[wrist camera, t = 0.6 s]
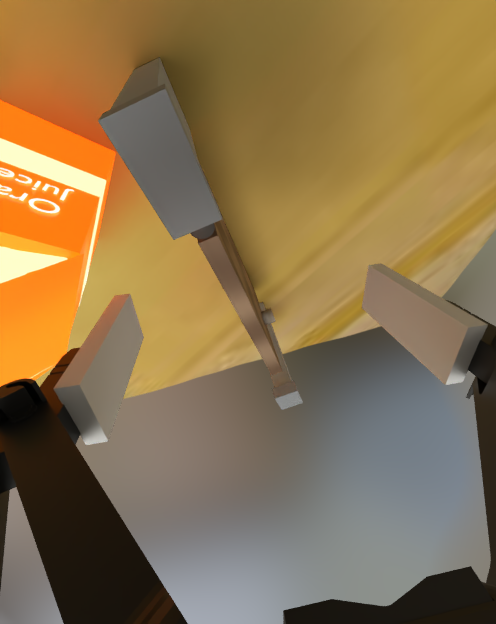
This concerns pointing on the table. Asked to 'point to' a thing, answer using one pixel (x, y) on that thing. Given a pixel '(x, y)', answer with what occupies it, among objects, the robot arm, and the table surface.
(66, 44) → the table surface
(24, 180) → the orange juice
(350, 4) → the table surface
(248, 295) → the gate
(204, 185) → the grey rectangular posts
